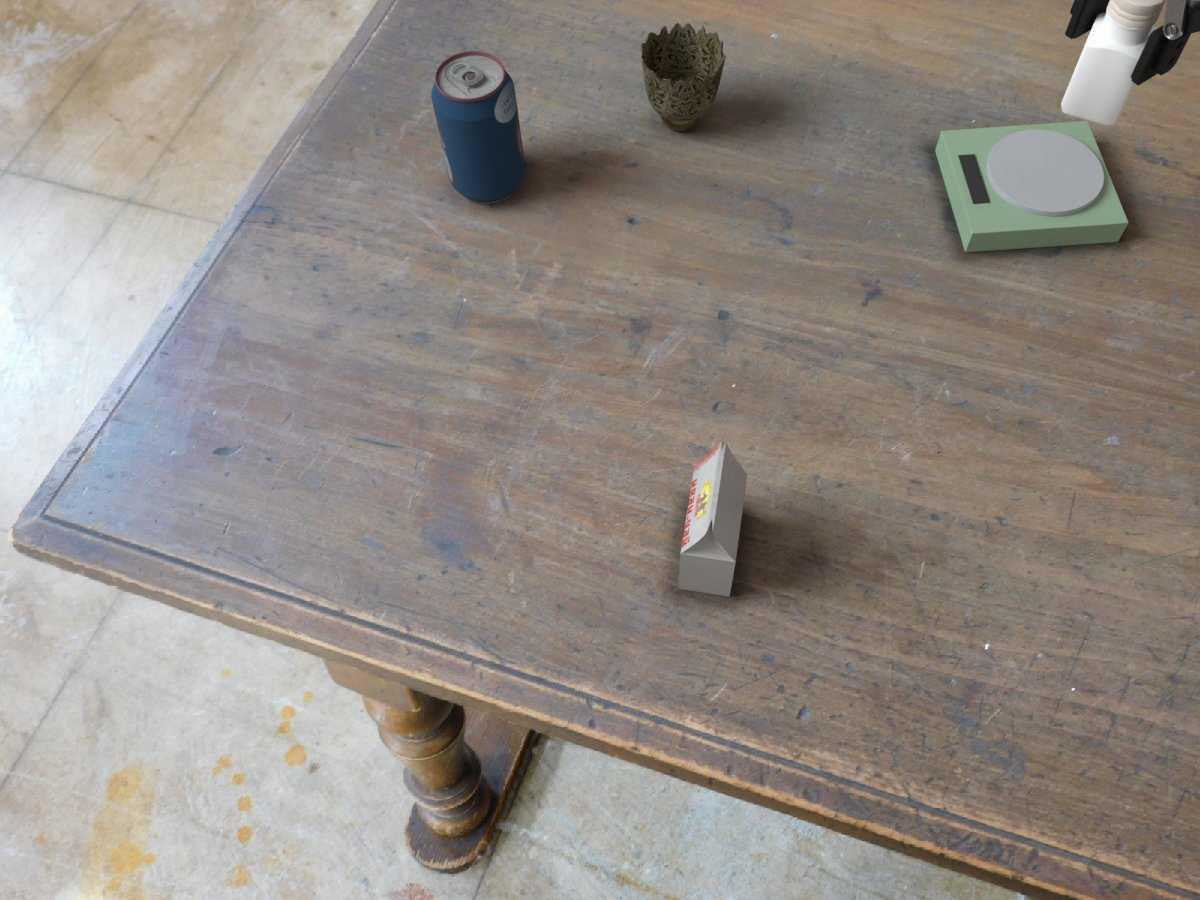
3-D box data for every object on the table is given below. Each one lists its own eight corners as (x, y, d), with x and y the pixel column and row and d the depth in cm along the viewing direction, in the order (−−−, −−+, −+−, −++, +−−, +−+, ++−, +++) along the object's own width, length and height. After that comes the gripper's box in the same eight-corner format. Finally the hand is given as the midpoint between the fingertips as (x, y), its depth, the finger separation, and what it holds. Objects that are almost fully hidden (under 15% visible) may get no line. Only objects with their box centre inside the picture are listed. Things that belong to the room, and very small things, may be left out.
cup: (722, 148, 99) (728, 78, 92) (642, 150, 99) (642, 81, 92) (717, 91, 102) (723, 20, 95) (640, 94, 102) (639, 23, 96)
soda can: (542, 178, 97) (530, 71, 87) (487, 221, 95) (467, 117, 85) (490, 142, 100) (471, 34, 90) (434, 183, 98) (409, 77, 87)
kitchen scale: (1078, 140, 97) (1090, 115, 95) (1117, 242, 91) (1131, 217, 89) (934, 150, 97) (942, 125, 95) (964, 252, 91) (974, 228, 89)
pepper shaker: (1071, 79, 78) (1118, -37, 70) (1127, 94, 77) (1182, -22, 69) (1056, 115, 77) (1103, -1, 68) (1113, 131, 76) (1167, 16, 67)
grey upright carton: (740, 512, 80) (752, 444, 71) (729, 596, 76) (740, 535, 68) (691, 505, 80) (696, 436, 72) (678, 588, 77) (682, 526, 68)
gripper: (1428, -185, 55) (1257, 97, 70) (1160, -314, 62) (1060, -33, 78) (1332, -129, 53) (1178, 148, 68) (1068, -269, 60) (984, 9, 76)
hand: (1116, 49), depth 73 cm, fingers closed on pepper shaker, 5 cm apart
